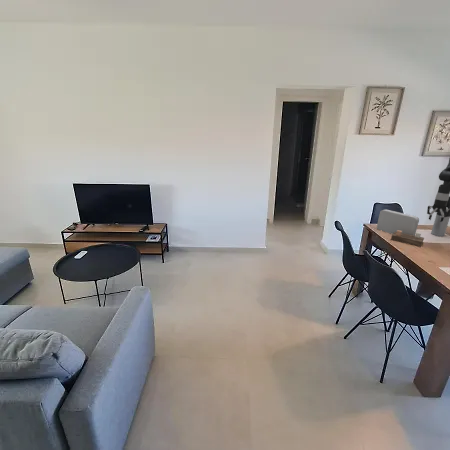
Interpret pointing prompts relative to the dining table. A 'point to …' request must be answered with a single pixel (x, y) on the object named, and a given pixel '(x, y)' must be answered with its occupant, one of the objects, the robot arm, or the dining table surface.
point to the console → (407, 239)
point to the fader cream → (418, 235)
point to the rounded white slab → (397, 222)
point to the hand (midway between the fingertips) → (435, 220)
